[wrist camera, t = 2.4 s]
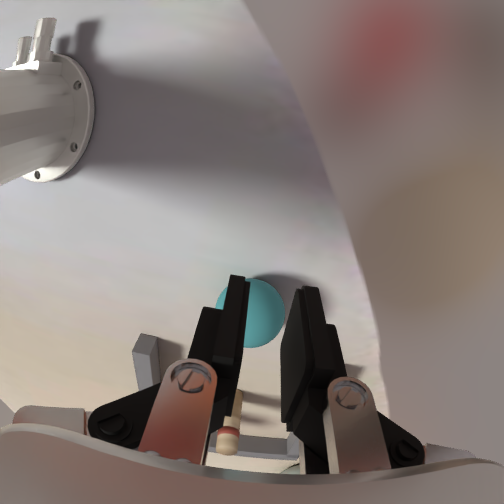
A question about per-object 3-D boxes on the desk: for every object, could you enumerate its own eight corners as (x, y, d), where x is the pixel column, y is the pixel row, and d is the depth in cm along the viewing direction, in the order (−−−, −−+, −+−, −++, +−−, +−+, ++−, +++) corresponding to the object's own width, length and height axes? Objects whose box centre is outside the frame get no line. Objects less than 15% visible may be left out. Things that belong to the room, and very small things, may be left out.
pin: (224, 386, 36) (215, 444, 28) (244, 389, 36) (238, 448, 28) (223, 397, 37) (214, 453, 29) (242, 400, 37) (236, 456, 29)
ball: (223, 261, 27) (212, 300, 22) (289, 271, 28) (293, 312, 22) (217, 313, 30) (207, 356, 25) (277, 322, 30) (277, 366, 25)
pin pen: (140, 333, 32) (131, 351, 30) (340, 363, 33) (344, 382, 30) (154, 424, 42) (150, 439, 39) (296, 445, 42) (296, 460, 39)
